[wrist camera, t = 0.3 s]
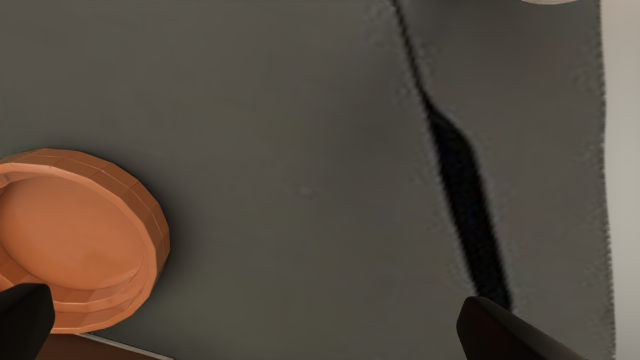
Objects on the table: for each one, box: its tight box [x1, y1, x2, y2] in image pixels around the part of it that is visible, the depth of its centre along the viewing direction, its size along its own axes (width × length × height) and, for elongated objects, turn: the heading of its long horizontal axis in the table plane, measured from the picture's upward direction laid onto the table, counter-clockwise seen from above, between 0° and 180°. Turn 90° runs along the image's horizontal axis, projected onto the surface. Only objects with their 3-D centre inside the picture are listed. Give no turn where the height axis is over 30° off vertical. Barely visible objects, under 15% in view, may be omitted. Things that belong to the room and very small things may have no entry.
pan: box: [0, 148, 170, 334], centre depth 20 cm, size 11×11×3 cm
